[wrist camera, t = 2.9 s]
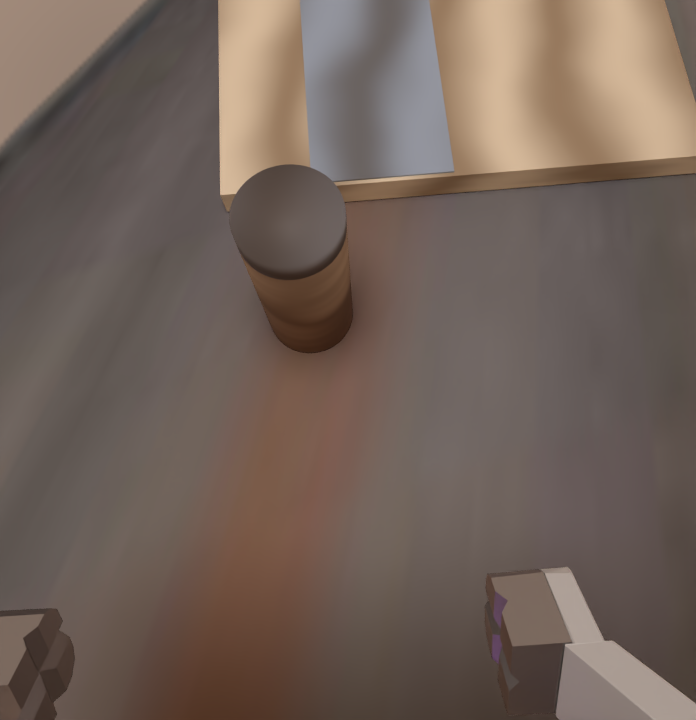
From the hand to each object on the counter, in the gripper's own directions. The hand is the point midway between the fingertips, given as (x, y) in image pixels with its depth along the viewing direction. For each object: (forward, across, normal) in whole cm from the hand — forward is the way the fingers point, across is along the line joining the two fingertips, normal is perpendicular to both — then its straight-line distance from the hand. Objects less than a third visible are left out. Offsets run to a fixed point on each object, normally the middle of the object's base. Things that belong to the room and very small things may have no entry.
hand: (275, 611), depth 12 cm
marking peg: (+19, 0, +2) cm, 19 cm away
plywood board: (+28, -8, -7) cm, 30 cm away
